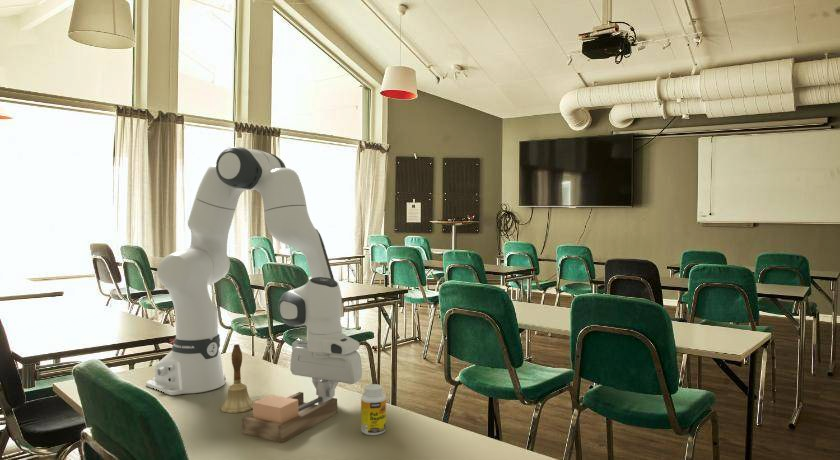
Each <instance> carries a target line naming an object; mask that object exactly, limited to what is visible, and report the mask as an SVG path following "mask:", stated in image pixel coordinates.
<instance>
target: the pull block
mask: <svg viewBox="0 0 840 460" xmlns="http://www.w3.org/2000/svg"><path fill="white" fill-rule="evenodd" d="M330 386H331V385H330V384H329V380H323V379H322V380H320V382H318V395H317V397H316V398H315V399H312V400H310V401H308V402H305V403H306V404H304V405H302V406H300V407H298V400H297V399H292V398H287V397H286V396H282V395H275V394H269V395H267V396H265V397H263V398H260V399H258V400H255V401H253V409H252V413H253V418H257V419H262V420H266V421H271V422H276V423H280V424H283V423H285V422H287V421H289V420H291V419H293V418H295V417H297V416H299V412H300V411H302V410H304V409H306V408H308V407H310V406H312V405H314V404H315V405H320V404H322V403H324V402H326V401H328V400H330V399H332V398H334V397H332V398H330V397H326V390H328V389H329V388H330Z"/></svg>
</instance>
